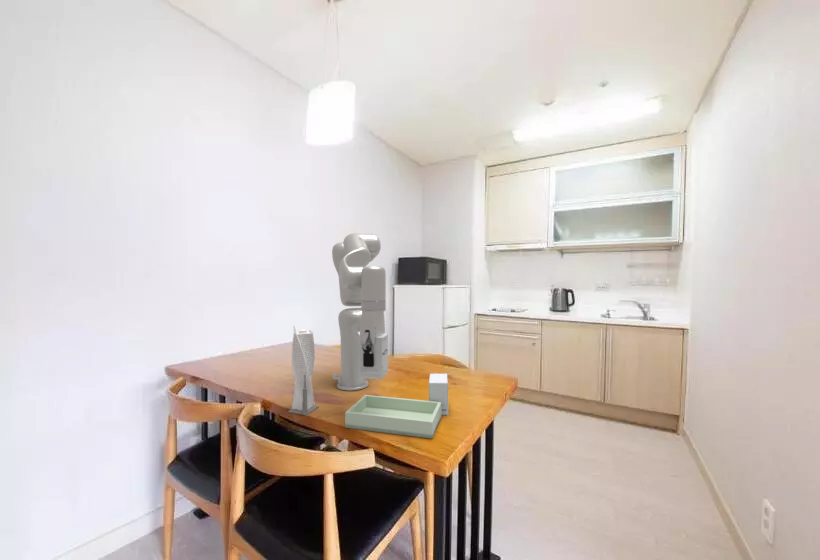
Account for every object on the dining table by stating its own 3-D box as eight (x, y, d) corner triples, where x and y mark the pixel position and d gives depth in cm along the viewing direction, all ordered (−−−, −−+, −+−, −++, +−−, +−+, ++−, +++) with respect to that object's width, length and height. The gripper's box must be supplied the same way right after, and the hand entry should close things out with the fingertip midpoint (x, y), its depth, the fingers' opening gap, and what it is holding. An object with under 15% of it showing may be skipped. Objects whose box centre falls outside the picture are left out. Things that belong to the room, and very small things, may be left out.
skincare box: (429, 402, 115) (429, 372, 115) (448, 403, 115) (448, 373, 114) (428, 414, 105) (428, 382, 105) (448, 415, 104) (448, 382, 104)
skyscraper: (284, 411, 107) (284, 326, 107) (300, 403, 115) (300, 323, 115) (305, 415, 104) (305, 327, 104) (320, 406, 112) (320, 324, 112)
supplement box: (382, 379, 97) (382, 337, 97) (358, 378, 99) (358, 336, 98) (388, 372, 104) (388, 333, 104) (366, 371, 106) (366, 332, 106)
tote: (345, 427, 96) (345, 412, 96) (365, 408, 110) (365, 394, 110) (432, 438, 89) (432, 422, 89) (441, 416, 103) (441, 402, 103)
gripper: (372, 303, 111) (372, 355, 111) (350, 308, 94) (350, 369, 94) (393, 304, 109) (393, 357, 109) (374, 309, 92) (374, 371, 92)
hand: (373, 362), depth 101 cm, fingers closed on supplement box, 7 cm apart
